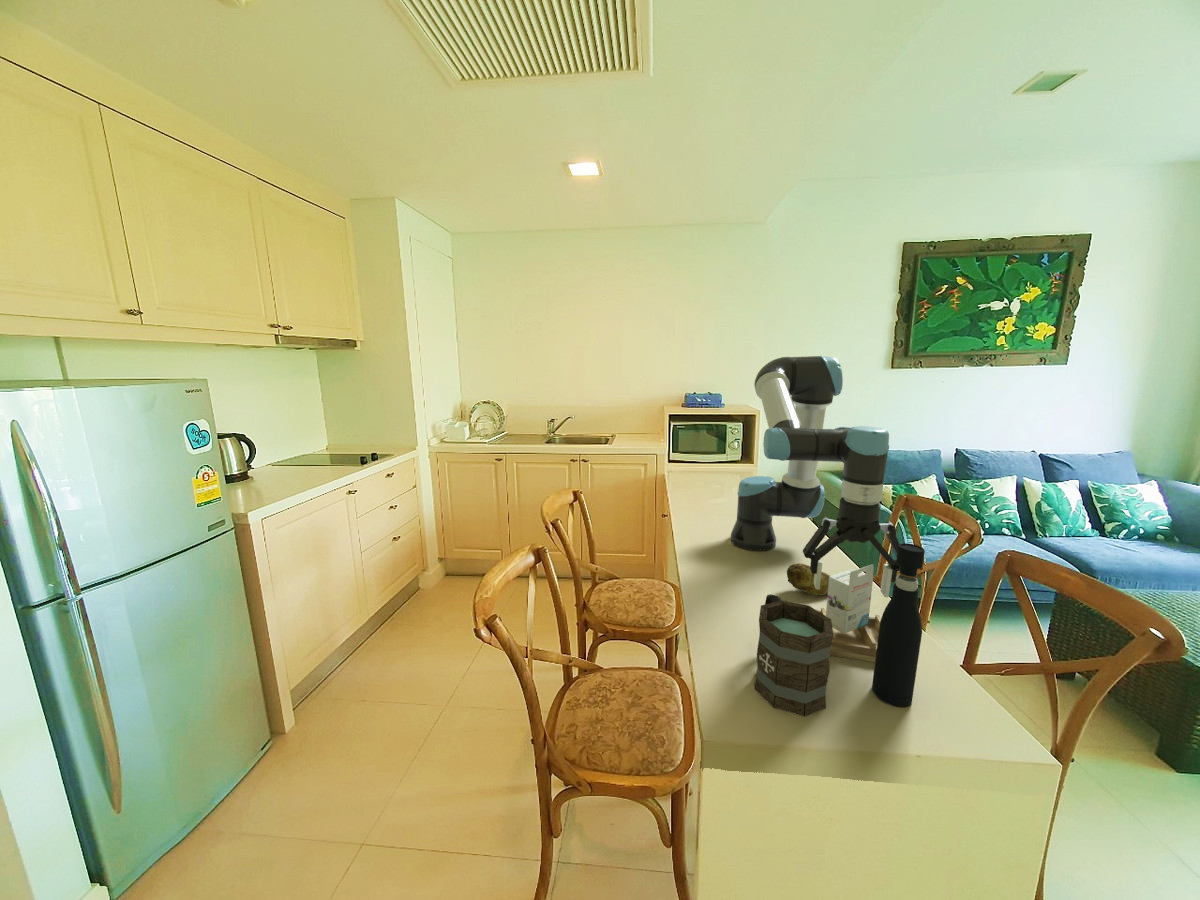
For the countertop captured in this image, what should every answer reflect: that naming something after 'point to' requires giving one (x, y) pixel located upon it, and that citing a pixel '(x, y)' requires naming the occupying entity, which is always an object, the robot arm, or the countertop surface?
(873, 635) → the rack
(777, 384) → the robot arm
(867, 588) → the ink box
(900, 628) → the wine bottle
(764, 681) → the mug
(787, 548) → the countertop surface
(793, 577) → the potato
